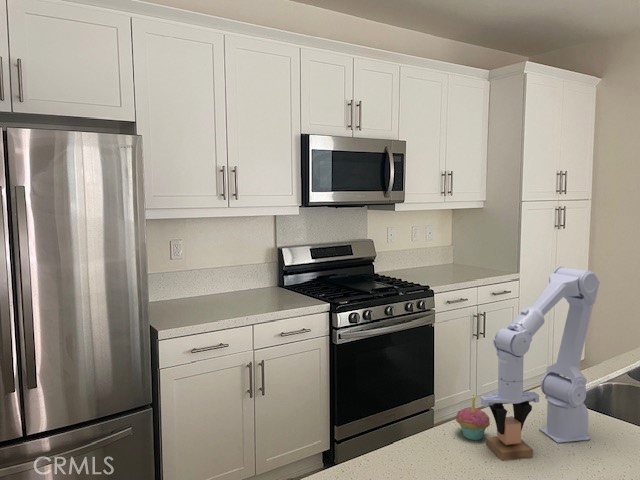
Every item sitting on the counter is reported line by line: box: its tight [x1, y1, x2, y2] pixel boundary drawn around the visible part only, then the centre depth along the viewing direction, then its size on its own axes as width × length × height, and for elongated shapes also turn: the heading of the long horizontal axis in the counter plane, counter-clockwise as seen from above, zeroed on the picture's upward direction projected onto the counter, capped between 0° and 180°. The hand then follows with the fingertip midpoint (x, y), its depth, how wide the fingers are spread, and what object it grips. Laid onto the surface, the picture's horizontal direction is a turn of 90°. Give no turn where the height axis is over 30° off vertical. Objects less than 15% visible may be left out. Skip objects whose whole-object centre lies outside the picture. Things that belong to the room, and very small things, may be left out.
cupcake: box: [455, 394, 491, 441], centre depth 134 cm, size 9×8×12 cm
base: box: [485, 435, 534, 461], centre depth 126 cm, size 8×8×2 cm
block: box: [496, 415, 522, 445], centre depth 126 cm, size 4×4×5 cm
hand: (509, 431), depth 126 cm, fingers closed on block, 4 cm apart
